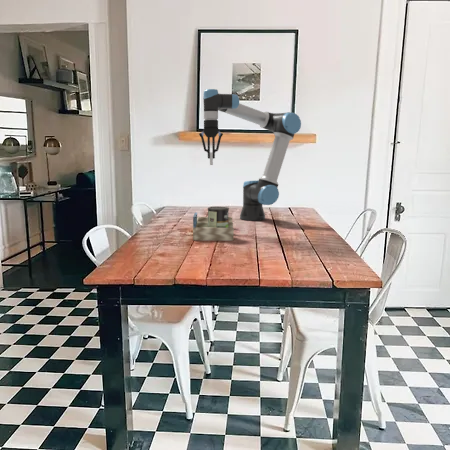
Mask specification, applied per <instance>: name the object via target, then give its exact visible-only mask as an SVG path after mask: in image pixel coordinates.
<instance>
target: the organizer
mask: <svg viewBox="0 0 450 450" xmlns="http://www.w3.org/2000/svg"><path fill="white" fill-rule="evenodd" d="M233 225H234V222H233V217H232V216H228V228H208V216H198V212H193V216H192V241H227V242H228V241H230V242H231V241H234V230H235V229H234V226H233Z"/></svg>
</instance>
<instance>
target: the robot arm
mask: <svg viewBox="0 0 450 450" xmlns="http://www.w3.org/2000/svg"><path fill="white" fill-rule="evenodd" d="M219 112H221V113H225V114H227V115H230V116H234V117H236V118H239V119H241V120H245V121H247V122H250V123H253V124H255V125H259V127H260V128H262V129H264V130H267V131H269V132H272V133H273V135H274V140H273V143H272V146H271V149H270V152H269V155H268V158H267V162H266V165H265V167H264V171H263V174H262V176H261V177H259V178H258V179H257V180H246V181H244V182H243V185H242V190H243V192H242V193H243V194H242V209H241V211H240V213H239V219H240V220H244V221H253V222H254V221H255V222H256V221H257V222H258V221H263V220H266V214H265V211H264V208H263V206H270V205H271V206H272V205H273V204H275V203H276V202H277V200H279V197H280V191H279V188H278V187H279V183H278V178H279V176H280V172H281V169H282V166H283V162H284V159H285V156H286V153H287V150H288V147H289V144H290V141H292V140H293V139H294V137H295V134H296V133H298V132H300V129H301V126H302V120H301V119H300V117H299V115H298V114H296V113H295V112H290V111H289V112H276V113H274V112H269V111H264V112H263V111H260V110H258V109H256V108H253V107H250V106H247V105H244V104H242V103H240V97H239V96H238V94H236V93H235V94H233V93H219V90H218V89H215V88H207V89H204V90H203V129H202V131H201V132H200V133H198V135H199V136H200V139H201V142H202V147H203V150H204V152H206V153H207V159H209V166H213V165H214V162H213V161H214V159H216V157H215V156H216V152H218V151H219V148H220V143H221V141H222V140H221V139H222V137H223V135H224V133H222V132H221V131H220V129H219V120H218V119H219ZM204 136H205V137H206V138H207V145H206V142H205V138H204ZM216 136H218V138H217V143H216V142H215V140H216V139H215V138H216ZM211 138H212V144H211V142H210V141H211ZM215 143H216V144H215ZM211 145H212V147H211ZM215 145H216V146H215ZM211 148H212V152H211Z"/></svg>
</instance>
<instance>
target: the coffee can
mask: <svg viewBox="0 0 450 450" xmlns="http://www.w3.org/2000/svg"><path fill="white" fill-rule="evenodd" d="M229 209H230V208H229V207H227V206H209V207H207V217H208V228H228V217H229Z"/></svg>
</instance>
